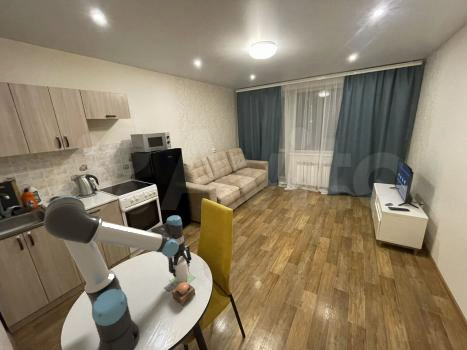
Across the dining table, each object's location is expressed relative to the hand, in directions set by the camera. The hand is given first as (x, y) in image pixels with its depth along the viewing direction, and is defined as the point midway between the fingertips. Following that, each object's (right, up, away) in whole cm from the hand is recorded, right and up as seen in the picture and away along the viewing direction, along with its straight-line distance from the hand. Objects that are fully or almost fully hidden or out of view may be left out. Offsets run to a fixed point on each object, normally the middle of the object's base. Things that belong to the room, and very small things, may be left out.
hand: (182, 275), depth 115 cm
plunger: (+4, -5, -11) cm, 13 cm away
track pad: (-6, -4, -4) cm, 9 cm away
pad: (0, -3, +1) cm, 3 cm away
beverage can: (0, -1, 0) cm, 1 cm away
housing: (+4, -5, -11) cm, 13 cm away
